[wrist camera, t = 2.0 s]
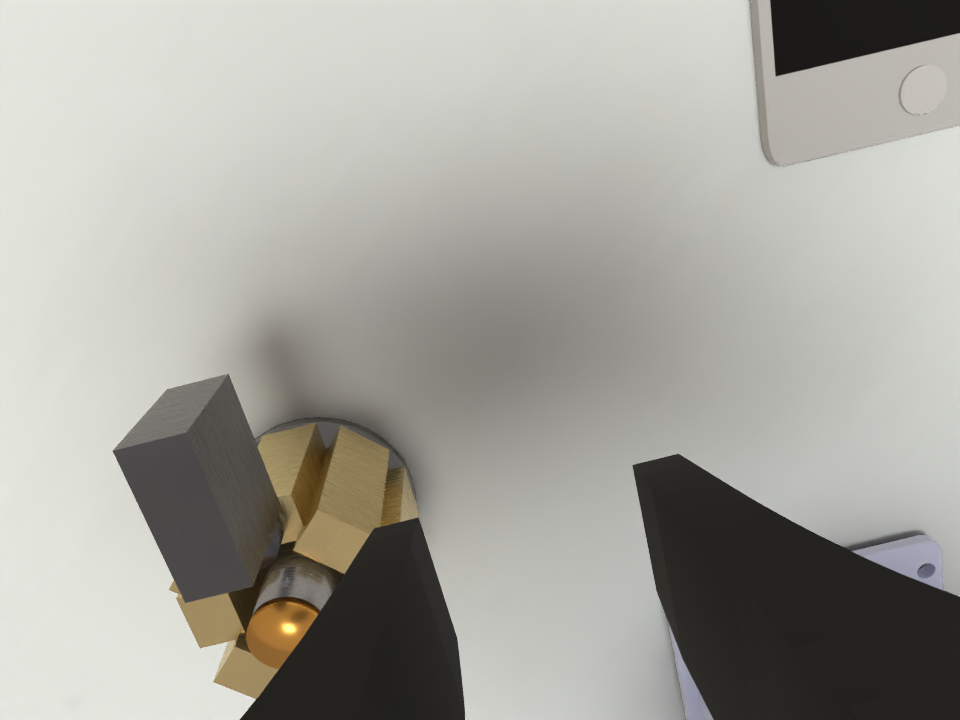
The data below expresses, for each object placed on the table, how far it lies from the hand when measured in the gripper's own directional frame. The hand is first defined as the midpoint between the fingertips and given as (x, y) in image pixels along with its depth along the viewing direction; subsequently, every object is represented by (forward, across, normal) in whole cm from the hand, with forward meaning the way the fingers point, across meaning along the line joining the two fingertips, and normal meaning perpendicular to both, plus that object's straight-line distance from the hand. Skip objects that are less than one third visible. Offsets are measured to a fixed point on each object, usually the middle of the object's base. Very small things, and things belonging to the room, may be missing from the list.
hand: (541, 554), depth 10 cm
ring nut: (+9, +6, +2) cm, 11 cm away
